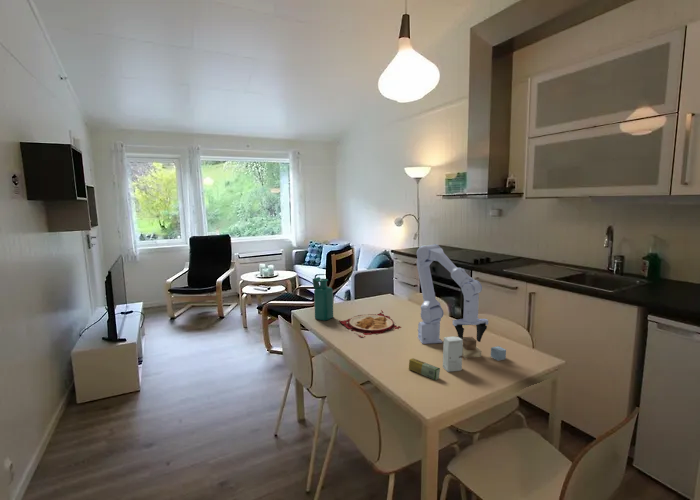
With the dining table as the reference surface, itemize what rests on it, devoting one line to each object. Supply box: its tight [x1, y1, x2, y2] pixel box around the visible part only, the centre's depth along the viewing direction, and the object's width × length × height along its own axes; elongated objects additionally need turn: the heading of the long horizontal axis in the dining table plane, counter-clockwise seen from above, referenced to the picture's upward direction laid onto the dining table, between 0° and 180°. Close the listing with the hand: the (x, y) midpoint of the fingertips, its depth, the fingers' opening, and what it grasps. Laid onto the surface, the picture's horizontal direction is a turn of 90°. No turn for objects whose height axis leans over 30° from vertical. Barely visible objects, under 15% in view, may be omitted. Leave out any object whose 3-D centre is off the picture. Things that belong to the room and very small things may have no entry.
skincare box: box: [442, 335, 463, 373], centre depth 136 cm, size 6×4×12 cm
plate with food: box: [338, 309, 402, 338], centre depth 185 cm, size 25×26×4 cm
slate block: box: [490, 345, 507, 362], centre depth 146 cm, size 4×4×4 cm
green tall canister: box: [312, 276, 334, 322], centre depth 196 cm, size 10×8×22 cm
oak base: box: [462, 346, 482, 359], centre depth 150 cm, size 7×7×3 cm
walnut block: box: [463, 336, 477, 350], centre depth 149 cm, size 4×4×4 cm
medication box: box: [408, 357, 441, 381], centre depth 133 cm, size 12×3×4 cm, turn 46°
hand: (469, 341), depth 149 cm, fingers open, 7 cm apart
